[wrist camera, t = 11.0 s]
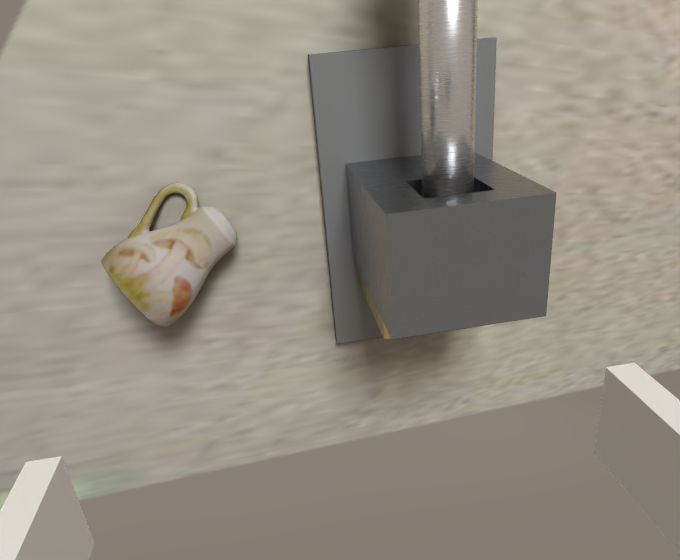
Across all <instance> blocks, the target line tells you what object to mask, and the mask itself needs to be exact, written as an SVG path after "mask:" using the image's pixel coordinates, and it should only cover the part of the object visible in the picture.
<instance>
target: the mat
mask: <svg viewBox="0 0 680 560" xmlns="http://www.w3.org/2000/svg"><path fill="white" fill-rule="evenodd" d="M496 41H497V38H483V39H477V53H476V102H475V151H474V152H476V153H478V154H480V155H482V156H484V157H486V158H488V159H490V160H492V158H493V129H494V100H495V70H496ZM308 59H309V70H310V80H311V90H312V100H313V110H314V121H315V131H316V141H317V151H318V162H319V172H320V182H321V192H322V203H323V213H324V223H325V233H326V244H327V254H328V264H329V274H330V284H331V295H332V305H333V315H334V325H335V336H336V341H337V344H339V343H346V342H352V341H359V340H366V339H372V338H379V337H383V335H382V333H381V331H380V329H379V327H378V324H377V322H376V320H375V318H374V316H373V313H372V311H371V309H370V307H369V304H368V302H367V300H366V298H365V296H364V293H363V291H362V289H361V282H360V272H359V270H358V268H357V266H356V264H355V262H354V260H353V253H352V240H351V227H350V214H349V201H348V188H347V175H346V163H354V162H362V161H371V160H380V159H388V158H397V157H406V156H414V155H421V106H420V55H419V44H418V45H408V46H397V47H386V48H376V49H365V50H354V51H343V52H333V53H322V54H311V55H308Z"/></svg>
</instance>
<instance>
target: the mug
mask: <svg viewBox="0 0 680 560" xmlns="http://www.w3.org/2000/svg"><path fill="white" fill-rule="evenodd" d="M172 193H180V194H181V195H183V196H184V197H185V199H186V200H187V208H186V210H185V211H184V213H183V215H182V218H181V220H180V221H179V222H178V223H176V224H173V225H170V226H167V227H164V228H160V229H156V230H153V231H150V226H151V224H152V221H153V219H154V217H155V215H156V213H157V211H158V209H159V207H160V205H161V204H162V202H163V200H164V199H165V198H166V197H167V196H169V195H170V194H172ZM236 240H237V233H236V230H235V228H234V226H233V224H232V223H231V221H230V220H229V218H228V217H227V216H226V215H225V214H224V213H223V212H222V211H221V210H220V209H218V208H216V207H212V206H202V207H200V208H198V197H197V194H196V192H195V190H194V189H193V188H192V187H191V186H188V185H186V184H181V183H173V184H170V185H168V186H166V187H164V188H163V189H162V190H161V191H160V192H159V193H158V194H157V195H156V196H155V197H154V199H153V201H152V203H151V204H150V206H149V208H148V210H147V212H146V214H145V215H144V217H143V219H142V220H141V222H140V223H139V225H138V226H137V227H136V228H135V229H134V230H133V231H132V232H131V233H130V235H129V237H128V239H126V240H124V241H122V242H120V243H119V244H117V245H116V246H114V247H113V248H112V249H111V250H110V251H109V252H108V253H107V254H106V255H105V256H104V258H103V259H102V265H103V267H104V269H105V270H106V272H107V273H108V275H109V276H110V278H111V279H112V280H113V282H114V283H115V284H116V285H117V287H118V288H119V289H120V290H121V291H122V293H123V294H124V295H125V296H126V297H127V298H128V299H129V300H130V302H131V303H132V304H133V305H134V306H135V307H136V308H137V309H138V310H139V311H140V312H141V313H142V314H143V315H144V316H146V317H147V318H148V319H149V320H150V321H151V322H153V323H154V324H155V325H157V326H159V327H167V326H170V325H171V324H172V323H174V322H175V321H176V320H178V319H179V318H181V317H182V316H183V315H184V314H185V313H186V312H187V310H188V309H189V307H190V306H191V304H192V303H193V301H194V300H195V298H196V296H197V294H198V292H199V291H200V289H201V287H202V285H203V283H204V281H205V279H206V278H207V276H208V274H209V272H210V271H211V269H212V268H213V266H214V265H215V264H216V263H217V262H218V261H219V260H220V259H221V258H222V257H223V256H224V255H225V254H226V253H227V252H229V251H230V250H231V249H233V248H234V247H235V245H236Z"/></svg>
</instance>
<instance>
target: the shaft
mask: <svg viewBox="0 0 680 560" xmlns="http://www.w3.org/2000/svg"><path fill="white" fill-rule="evenodd" d="M418 4H419V55H420V106H421V157H422V197H423V198H424V199H425V198H434V197H442V196H450V195H458V194H466V193H474V151H475V102H476V53H477V4H478V0H418Z"/></svg>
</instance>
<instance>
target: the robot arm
mask: <svg viewBox="0 0 680 560" xmlns="http://www.w3.org/2000/svg"><path fill="white" fill-rule="evenodd" d="M594 454H595V455H596V456H597V457H598V458H599V460H600V461H601V462H602V463H603V464H604V466H605V467H606V468H607V469H608V470H609V472H610V473H611V474H612V475H613V476H614V478H615V479H616V480H617V481H618V482H619V484H620V485H621V486H622V487H623V488H624V490H625V491H626V492H627V493H628V494H629V496H630V497H631V498H632V499H633V500H634V501H635V503H636V504H637V505H638V506H639V508H640V509H641V510H642V511H643V512H644V514H645V515H646V516H647V517H648V518H649V520H650V521H651V522H652V523H653V524H654V525H655V526H656V528H657V529H658V530H659V532H660V533H661V534H662V535H663V536H664V537H665V539H666V540H667V541H668V542H669V544H670V545H671V546H672V547H673V548H674V549H675V551H676V552H677V553H678V554H679V555H680V401H679V400H678V399H677V398H676V397H675V396H674V395H672V394H671V393H670V392H669V391H667V390H666V389H665V388H664V387H663V386H662V385H660V384H659V383H658V382H657V381H656V380H654V379H653V378H652V377H651V376H650V375H648V374H647V373H646V372H645V371H644V370H642V369H641V368H640V367H639V366H638V365H637V364H635V363H630V364H624V365H618V366H612V367H606V372H605V379H604V386H603V393H602V400H601V407H600V414H599V421H598V428H597V435H596V442H595V449H594ZM93 546H94V541H93V539H92V536H91V533H90V530H89V528H88V525H87V522H86V520H85V517H84V514H83V512H82V509H81V507H80V504H79V501H78V499H77V496H76V493H75V491H74V488H73V485H72V483H71V480H70V477H69V475H68V472H67V469H66V467H65V464H64V461H63V459H62V456H60V457H54V458H48V459H42V460H36V461H30V462H26V463H25V465H24V467H23V469H22V471H21V473H20V475H19V476H18V478H17V480H16V482H15V484H14V486H13V488H12V490H11V492H10V493H9V495H8V497H7V499H6V501H5V503H4V505H3V507H2V509H1V511H0V560H89V558H90V555H91V552H92V549H93Z"/></svg>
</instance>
